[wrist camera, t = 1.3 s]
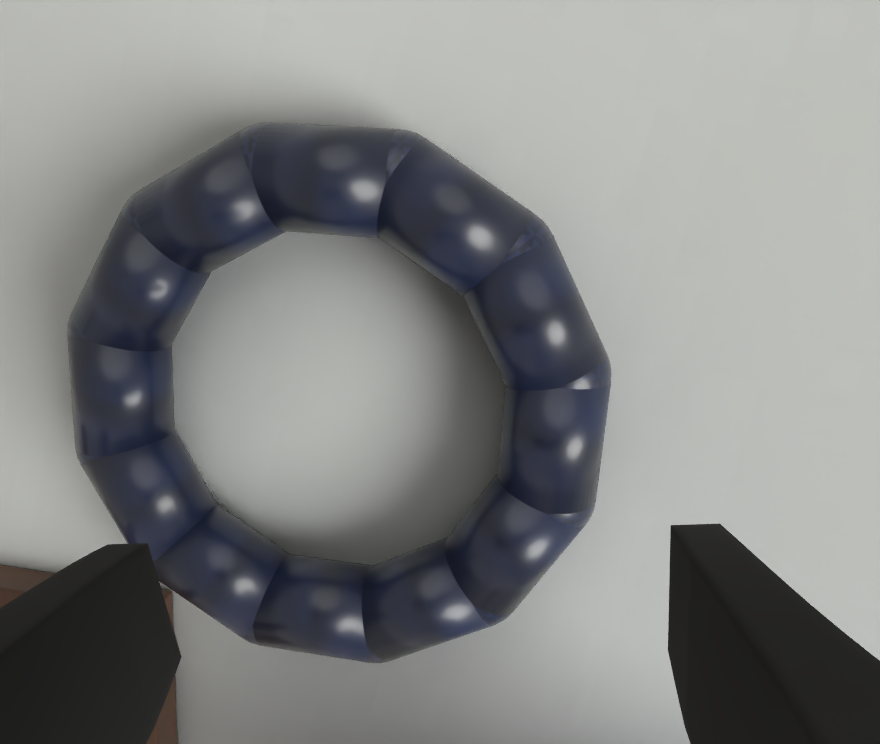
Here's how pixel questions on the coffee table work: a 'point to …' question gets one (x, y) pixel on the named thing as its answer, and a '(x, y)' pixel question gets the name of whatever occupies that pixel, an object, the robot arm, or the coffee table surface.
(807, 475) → the coffee table surface
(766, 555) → the coffee table surface
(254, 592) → the dark blue ring
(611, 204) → the coffee table surface
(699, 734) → the robot arm
